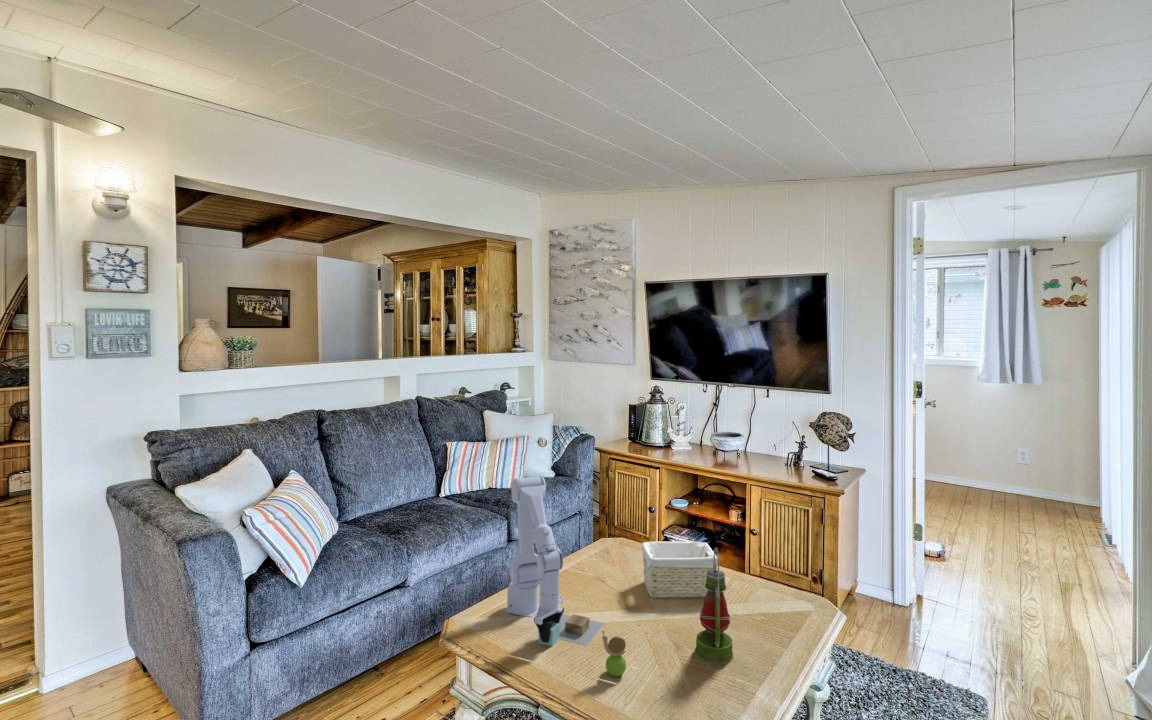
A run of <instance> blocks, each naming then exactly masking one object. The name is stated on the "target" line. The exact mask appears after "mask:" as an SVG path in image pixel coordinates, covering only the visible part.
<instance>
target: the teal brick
mask: <svg viewBox="0 0 1152 720" xmlns="http://www.w3.org/2000/svg"><path fill="white" fill-rule="evenodd" d="M559 640H560V639H559V623H554V622H553V624H552V627H551V631H550V639H549V642H548V643H546V642H542V641H541V637H540V633H539V632H538V642H537V643H538V644H540V645H544V646H549V647H551V648H552V647H554V646H555V644H557V642H559Z"/></svg>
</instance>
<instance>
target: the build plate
mask: <svg viewBox="0 0 1152 720" xmlns="http://www.w3.org/2000/svg"><path fill="white" fill-rule="evenodd" d="M571 616H572V615H568V614H564V613H563V614H562V616H561V618H560V622H559V640H562V641H566V642H570V643H574V644H578V645H583V646H588V645H589V644H590V642H591V641H592V640H593V639H594V637H595V636H596V634H597V633H598V632H599V630H600V629H601V628H602V627H603V625H604V624H605V623H604V622H601V621H595V620H591V619H589V628H588V629H587V631H586V632H585V633H584V634H583V636H580V635H576V634H571V633H567V632H565V622H566V621H567V620H568V619H569V618H570V617H571Z"/></svg>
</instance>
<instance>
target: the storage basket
mask: <svg viewBox="0 0 1152 720" xmlns="http://www.w3.org/2000/svg"><path fill="white" fill-rule="evenodd" d="M641 546H642V547H641V550H642V555H643V556H642V559H643V561H642V562H643V583H644V585H645V588H646V590H647V592H648V594H649V597H650V598H653V599H662V598H664V599H666V598H670V599H674V598H684V599H694V598H696V599H697V598H702V599H703V598H704V599H705V597H706V594H707V592H708V589H706V588H705V584H706V579H707V571H710V570H713V560H714V550H712V548H711V547H710V545H709V544H708V543H707V542H704V541H703V542H702V541H655V540H654V541H646V542H645V541H643V542H642V545H641ZM715 563H716V565H717V566H718V557H717V554H715ZM714 570H715V569H714Z"/></svg>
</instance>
